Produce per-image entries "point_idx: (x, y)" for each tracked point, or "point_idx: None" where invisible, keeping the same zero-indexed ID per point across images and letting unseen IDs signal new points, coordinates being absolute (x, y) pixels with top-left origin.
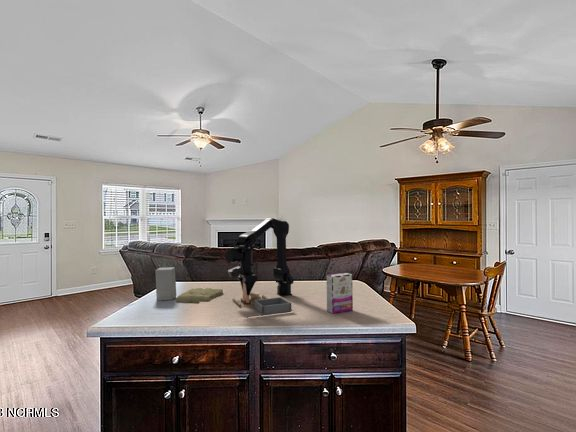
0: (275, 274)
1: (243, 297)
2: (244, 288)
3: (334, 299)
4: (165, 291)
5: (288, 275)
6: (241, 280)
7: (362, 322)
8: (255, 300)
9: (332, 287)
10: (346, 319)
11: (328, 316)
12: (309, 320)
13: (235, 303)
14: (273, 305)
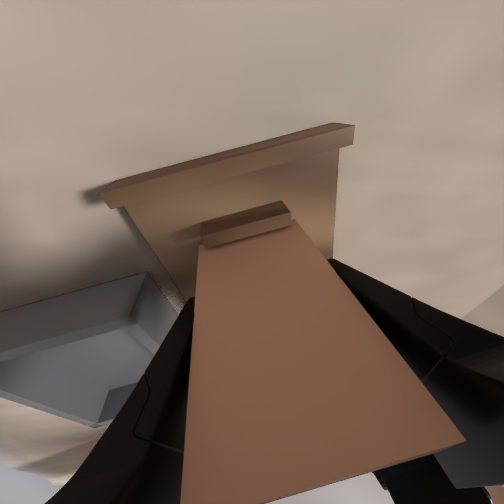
0: (435, 457)
1: (283, 237)
2: (280, 318)
3: None
4: None
5: (373, 473)
6: (474, 394)
7: (44, 465)
8: (123, 325)
9: None
10: (60, 452)
11: (78, 435)
12: (4, 421)
13: (237, 151)
14: (13, 399)
